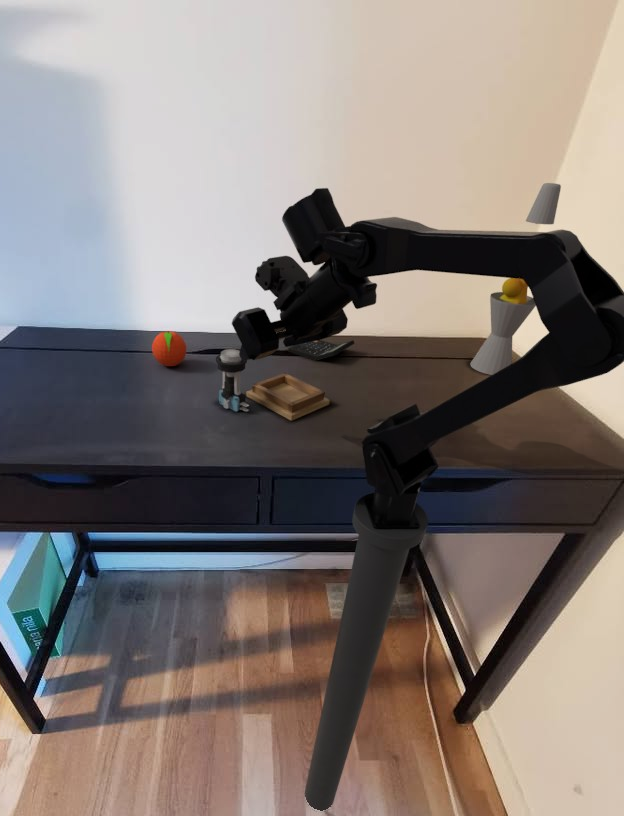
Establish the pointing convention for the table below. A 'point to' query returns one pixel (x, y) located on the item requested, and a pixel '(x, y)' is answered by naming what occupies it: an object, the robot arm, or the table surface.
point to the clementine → (169, 348)
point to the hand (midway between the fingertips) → (263, 350)
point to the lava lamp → (513, 297)
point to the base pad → (288, 396)
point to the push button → (231, 380)
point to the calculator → (319, 349)
